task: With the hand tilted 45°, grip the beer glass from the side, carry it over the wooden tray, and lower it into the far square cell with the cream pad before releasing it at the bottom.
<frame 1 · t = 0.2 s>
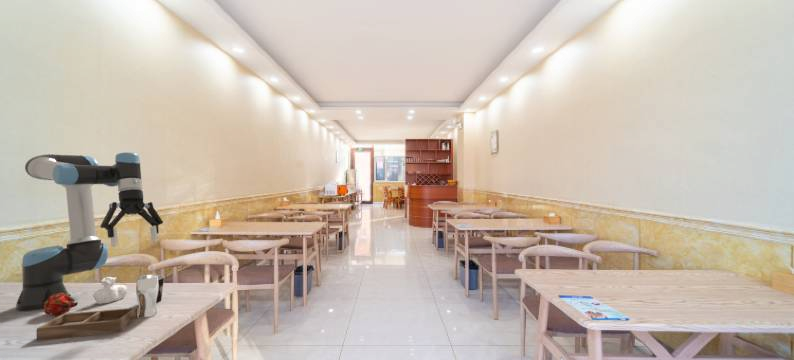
hand: (135, 244, 127), 28 cm above the table, tool tilted 15°, fingers open, 13 cm apart
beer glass: (147, 315, 128), on the table
coffee mug: (155, 300, 143), on the table
wooden tray: (90, 328, 116), on the table
white lumpy irregular piece: (109, 301, 143), on the table
dragon fruit: (60, 314, 129), on the table
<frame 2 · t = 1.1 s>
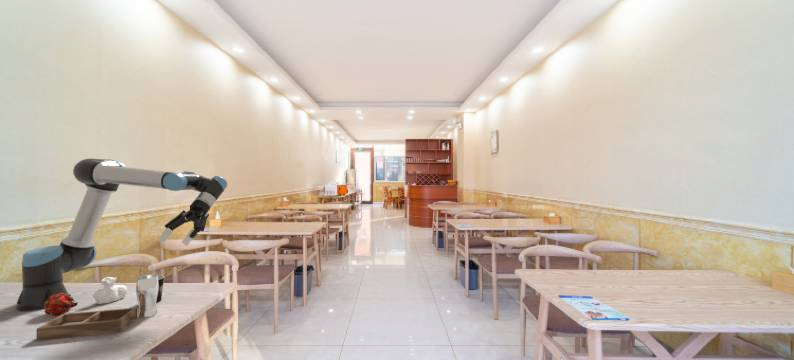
hand: (172, 243, 137), 26 cm above the table, tool tilted 45°, fingers open, 13 cm apart
nothing on the table moved.
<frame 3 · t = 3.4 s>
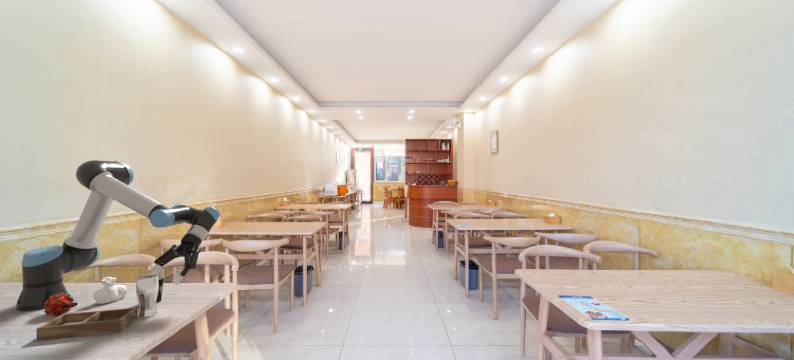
hand: (161, 281, 132), 12 cm above the table, tool tilted 45°, fingers open, 13 cm apart
nothing on the table moved.
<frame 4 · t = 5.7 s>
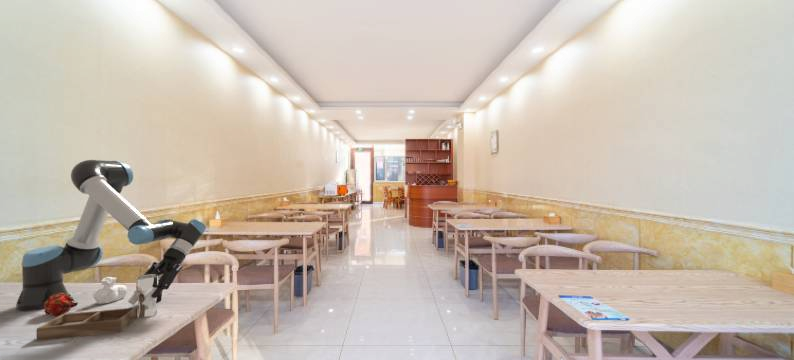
hand: (138, 304, 124), 5 cm above the table, tool tilted 45°, fingers closed on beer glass, 7 cm apart
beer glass: (147, 315, 128), on the table, touching gripper
everything else where it was.
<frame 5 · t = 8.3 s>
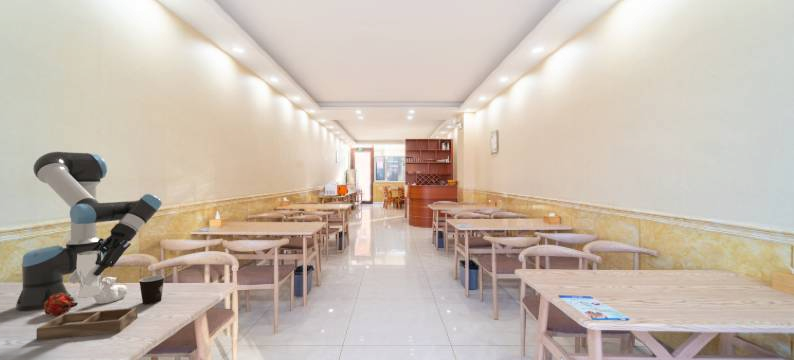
hand: (78, 282, 114), 17 cm above the table, tool tilted 45°, fingers closed on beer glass, 7 cm apart
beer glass: (90, 295, 117), point 11 cm above the table, touching gripper
everything else where it was.
when the fingers open (8 cm above the table, at t = 10.8 s): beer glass drops 1 cm, resting on wooden tray.
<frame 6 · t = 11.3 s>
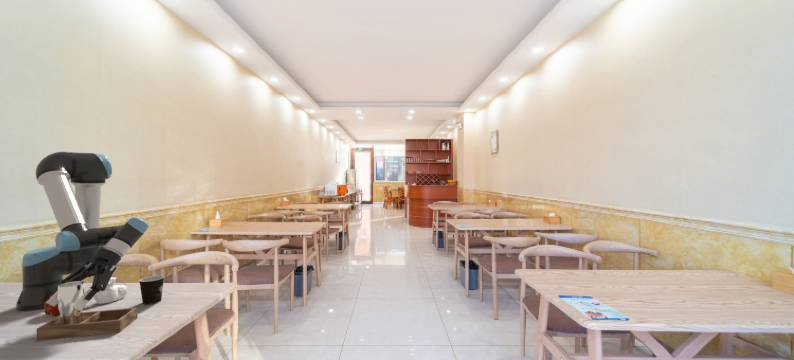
hand: (63, 306, 113), 9 cm above the table, tool tilted 45°, fingers open, 13 cm apart
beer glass: (71, 327, 115), point 1 cm above the table, touching wooden tray
everything else where it was.
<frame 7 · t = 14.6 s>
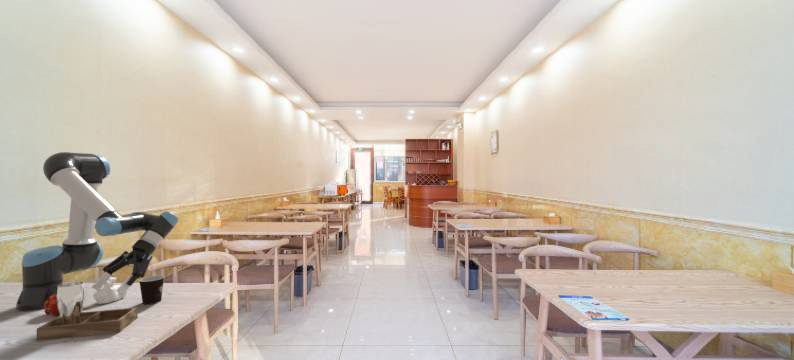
hand: (107, 290, 125), 10 cm above the table, tool tilted 45°, fingers open, 13 cm apart
nothing on the table moved.
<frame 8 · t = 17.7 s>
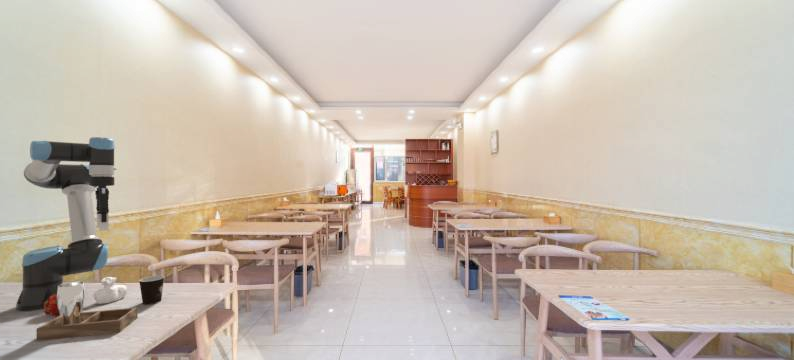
hand: (102, 228, 133), 33 cm above the table, tool pointing down, fingers open, 13 cm apart
nothing on the table moved.
at the end: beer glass 0.2 cm from the target spot on the wooden tray, point 1.0 cm above the wooden tray's base; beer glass tilted 0°; the gripper is holding nothing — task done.
